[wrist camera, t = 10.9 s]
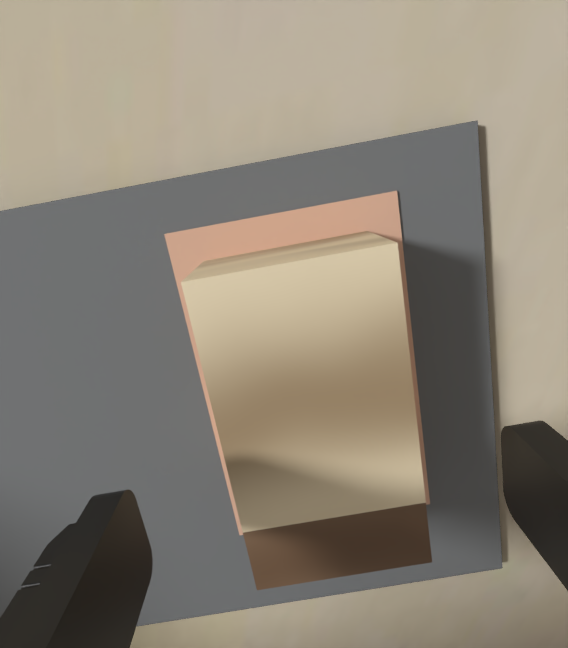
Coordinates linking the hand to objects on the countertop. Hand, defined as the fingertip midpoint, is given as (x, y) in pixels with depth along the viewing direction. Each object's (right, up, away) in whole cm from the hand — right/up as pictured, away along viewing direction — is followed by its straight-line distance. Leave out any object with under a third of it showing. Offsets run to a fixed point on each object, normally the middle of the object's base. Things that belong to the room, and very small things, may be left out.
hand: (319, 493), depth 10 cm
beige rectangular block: (0, +2, +5) cm, 5 cm away
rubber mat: (-6, 0, +6) cm, 8 cm away
